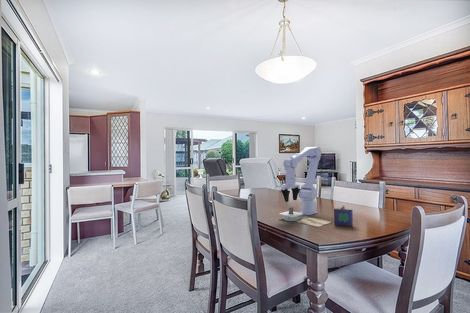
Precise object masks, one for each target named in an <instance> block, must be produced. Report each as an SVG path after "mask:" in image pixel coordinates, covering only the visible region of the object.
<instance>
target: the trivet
mask: <svg viewBox="0 0 470 313" xmlns="http://www.w3.org/2000/svg"><path fill="white" fill-rule="evenodd" d="M295 222H296V223H299V224H303V225H307V226H311V227H314V228H321V227H324V226H327V225H329V224H332V223H333V221H331V220H330V221H329V220H325V219H320V218H316V217H311V216H310V217H306V218H304V219H303V218H302V219H299V220H298V221H295Z"/></svg>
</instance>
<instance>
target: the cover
mask: <svg viewBox="0 0 470 313" xmlns="http://www.w3.org/2000/svg"><path fill="white" fill-rule="evenodd" d="M278 215H281V216H283V215H284V216H288V217H296V216H299V217H301V216H303V215H304V214H303V213H299V211H294V207H293V206H288V211H284V212H279V213H278Z"/></svg>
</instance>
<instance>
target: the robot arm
mask: <svg viewBox="0 0 470 313" xmlns="http://www.w3.org/2000/svg"><path fill="white" fill-rule="evenodd" d="M321 156H322V148H321V147H320V146H306V147H304V148H303V150H302V151H300V153H298V152H296V153H294V155H292V156H290V157H289V158H285V160H283V163H282V164H283V167H284V171H285V185H282V186H281V187H280V188H281V189H280V193H281V194H282V195H283V198H284V199H283V200H284V202H286V203H289V201H290V193H292V200H293V201H297V199H298V197H299V198H300V200H301V211H298V213H303V215H305V216H311V215H312V216H313V215H315V214H318V211H317V202H316V200H315V199H316V198H317V188H316V187H315V186H314V183H315V179H316V176H317V175H316V174H317V170H318V166H319V162H320V160H321ZM304 158H306V160H307V161H309V166H308V170H307V173H306V174H307V175H306V178H305V182H304V184H302V185H300V184H296V168H297V167H298V165H299V163H301V162H302V161H303V160H304Z"/></svg>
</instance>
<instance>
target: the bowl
mask: <svg viewBox="0 0 470 313" xmlns="http://www.w3.org/2000/svg"><path fill="white" fill-rule="evenodd" d="M282 218H283V220H284V221H285V222H286V221H287V222H296V221H299V220H300V216H296V217H288V216H284V215H282Z"/></svg>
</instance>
